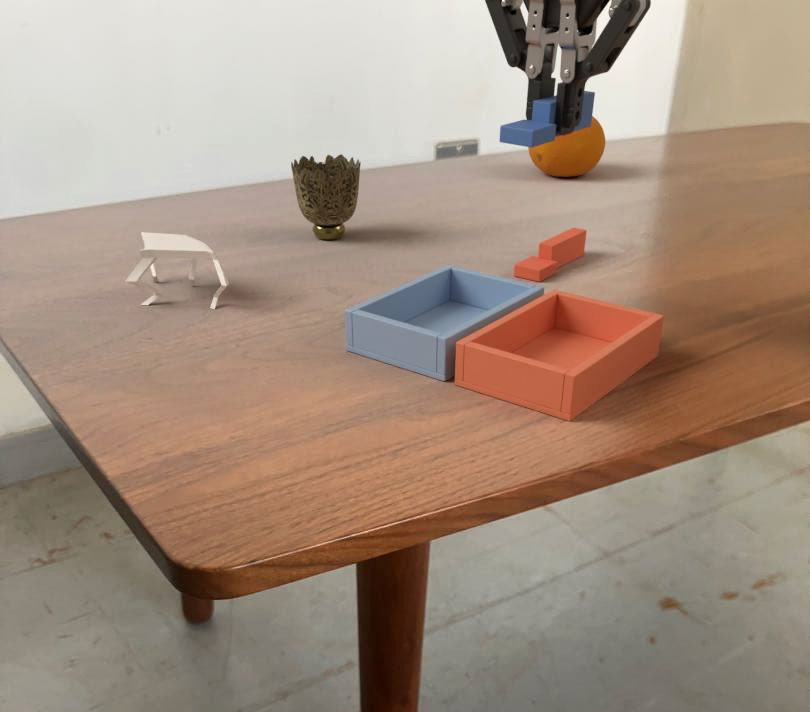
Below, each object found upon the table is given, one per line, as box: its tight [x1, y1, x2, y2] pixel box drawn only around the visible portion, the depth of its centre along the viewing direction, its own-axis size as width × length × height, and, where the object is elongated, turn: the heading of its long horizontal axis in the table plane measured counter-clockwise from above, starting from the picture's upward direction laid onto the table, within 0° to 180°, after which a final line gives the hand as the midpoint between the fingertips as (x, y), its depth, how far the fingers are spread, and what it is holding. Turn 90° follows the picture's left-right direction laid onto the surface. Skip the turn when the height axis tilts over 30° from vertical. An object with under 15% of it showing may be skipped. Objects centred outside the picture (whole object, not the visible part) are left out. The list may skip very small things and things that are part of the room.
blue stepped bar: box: [499, 90, 596, 148], centre depth 72 cm, size 10×3×3 cm, turn 142°
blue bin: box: [344, 264, 545, 382], centre depth 77 cm, size 10×15×4 cm
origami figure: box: [124, 231, 230, 310], centre depth 85 cm, size 12×8×5 cm
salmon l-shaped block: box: [513, 227, 587, 283], centre depth 93 cm, size 10×3×3 cm, turn 142°
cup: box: [290, 154, 361, 241], centre depth 100 cm, size 8×7×8 cm
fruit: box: [527, 115, 606, 178], centre depth 125 cm, size 10×10×8 cm
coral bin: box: [454, 289, 665, 422], centre depth 72 cm, size 10×15×4 cm
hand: (551, 130), depth 73 cm, fingers closed on blue stepped bar
